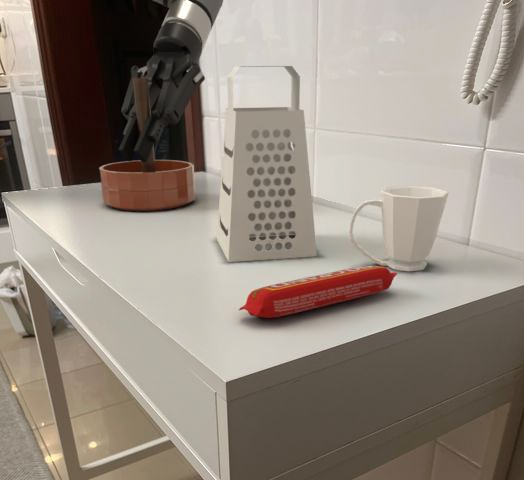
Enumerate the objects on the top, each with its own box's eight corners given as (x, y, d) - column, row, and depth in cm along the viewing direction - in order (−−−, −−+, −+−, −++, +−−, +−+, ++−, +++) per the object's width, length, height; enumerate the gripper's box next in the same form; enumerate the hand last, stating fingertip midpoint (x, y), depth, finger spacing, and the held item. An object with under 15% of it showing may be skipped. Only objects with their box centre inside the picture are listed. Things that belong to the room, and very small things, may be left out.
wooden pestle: (138, 190, 94) (126, 78, 86) (159, 189, 95) (150, 78, 87) (141, 194, 91) (129, 78, 83) (163, 192, 92) (153, 77, 84)
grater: (316, 256, 65) (323, 65, 57) (228, 262, 64) (221, 65, 55) (294, 234, 75) (297, 67, 66) (216, 238, 73) (209, 67, 64)
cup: (444, 276, 59) (455, 197, 55) (348, 273, 59) (353, 196, 56) (432, 256, 65) (442, 185, 61) (346, 255, 66) (350, 184, 62)
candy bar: (374, 284, 56) (376, 255, 55) (399, 295, 53) (403, 265, 52) (234, 317, 49) (233, 284, 48) (255, 331, 46) (255, 297, 45)
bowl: (100, 197, 99) (96, 162, 96) (185, 192, 103) (182, 158, 101) (108, 215, 86) (103, 175, 83) (204, 208, 90) (202, 169, 88)
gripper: (230, 57, 94) (184, 174, 87) (154, 58, 99) (106, 168, 93) (213, 17, 87) (162, 141, 81) (133, 22, 93) (79, 137, 86)
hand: (132, 155), depth 87 cm, fingers closed on wooden pestle, 2 cm apart
